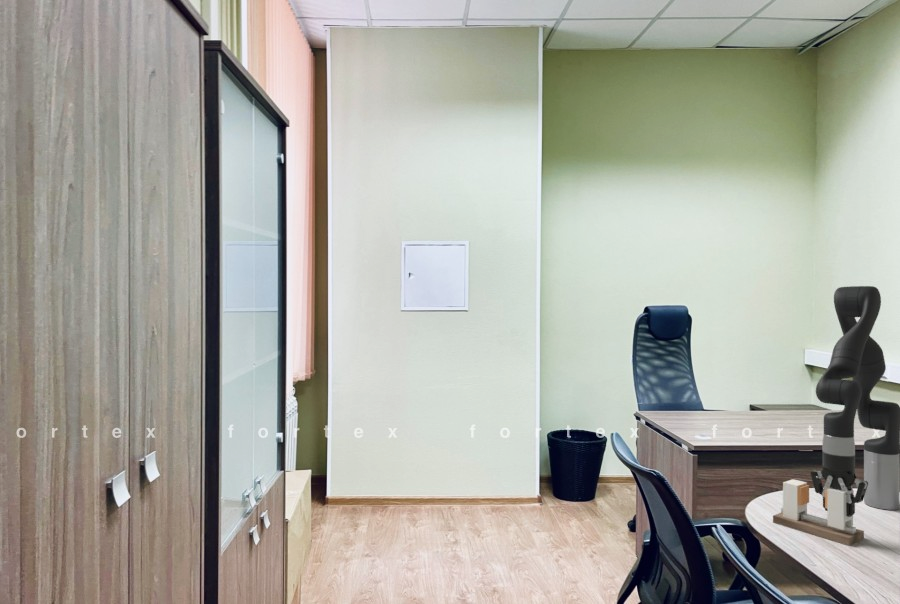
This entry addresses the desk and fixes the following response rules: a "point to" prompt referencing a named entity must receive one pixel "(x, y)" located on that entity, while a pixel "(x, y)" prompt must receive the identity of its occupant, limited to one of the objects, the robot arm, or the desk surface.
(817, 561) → the desk surface
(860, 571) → the desk surface
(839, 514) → the white block with pad
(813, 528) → the rail
